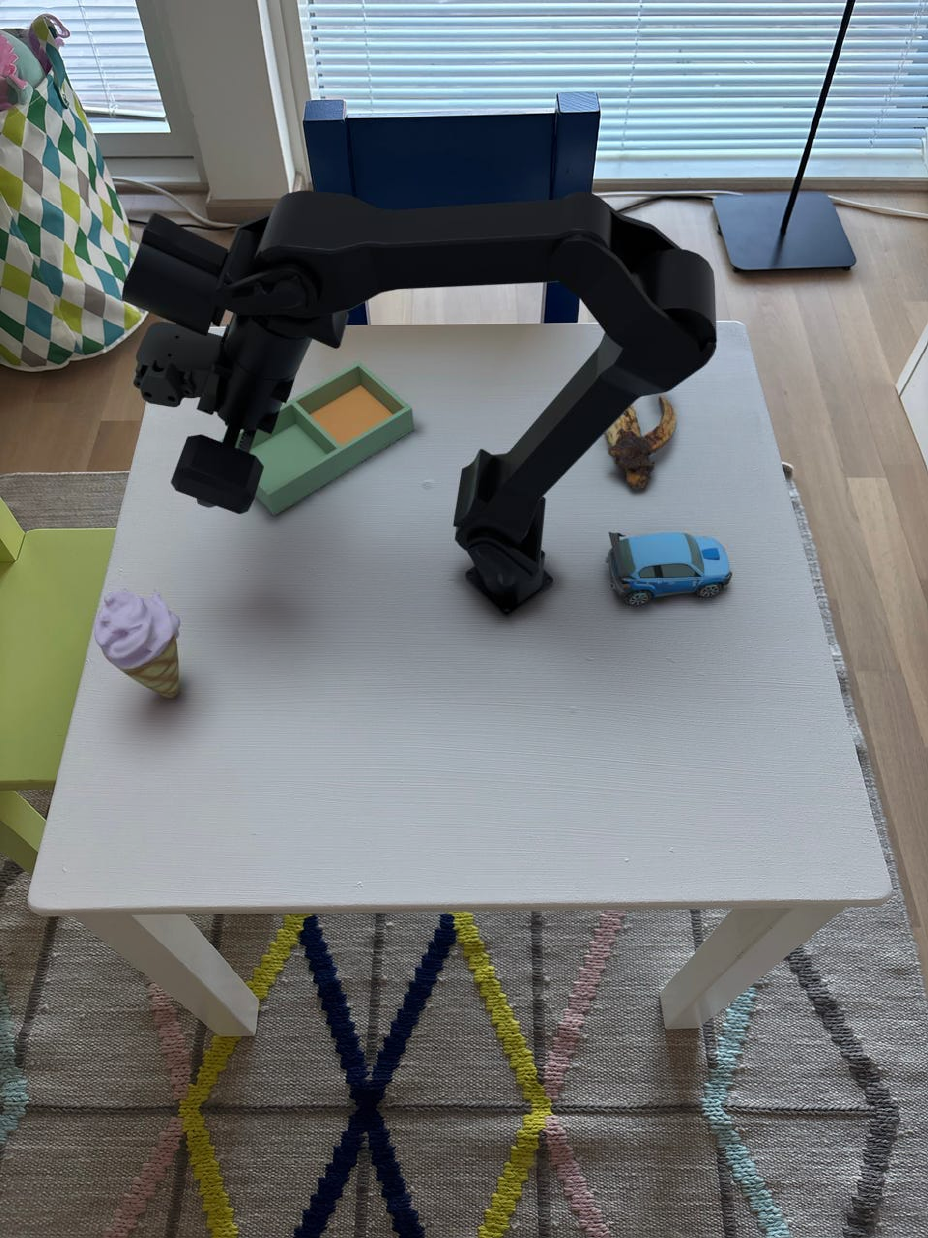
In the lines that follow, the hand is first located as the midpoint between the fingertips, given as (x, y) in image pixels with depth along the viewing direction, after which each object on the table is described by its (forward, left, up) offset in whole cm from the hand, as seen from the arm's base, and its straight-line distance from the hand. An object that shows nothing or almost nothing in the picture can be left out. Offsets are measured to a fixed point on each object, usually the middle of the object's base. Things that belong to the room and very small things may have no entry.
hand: (217, 464), depth 81 cm
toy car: (-29, -30, -14) cm, 44 cm away
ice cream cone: (-8, +14, -14) cm, 22 cm away
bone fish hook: (-13, -42, -14) cm, 46 cm away
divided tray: (+8, -14, -14) cm, 21 cm away
